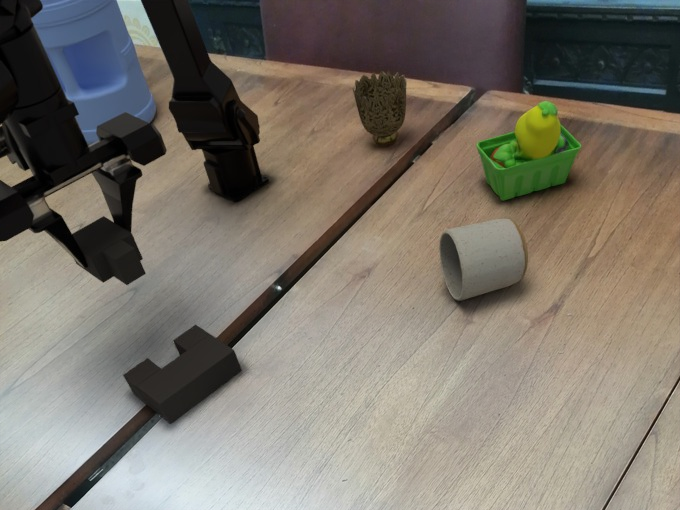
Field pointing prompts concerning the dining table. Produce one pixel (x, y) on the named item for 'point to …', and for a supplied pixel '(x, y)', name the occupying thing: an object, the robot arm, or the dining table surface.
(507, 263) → the ceramic mug
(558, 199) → the dining table surface
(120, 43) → the water jug
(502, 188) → the fruit basket
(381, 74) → the cup
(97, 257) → the black pad
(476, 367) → the dining table surface
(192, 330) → the base pad
